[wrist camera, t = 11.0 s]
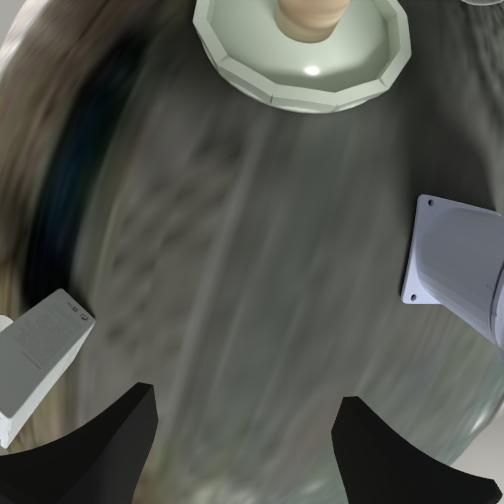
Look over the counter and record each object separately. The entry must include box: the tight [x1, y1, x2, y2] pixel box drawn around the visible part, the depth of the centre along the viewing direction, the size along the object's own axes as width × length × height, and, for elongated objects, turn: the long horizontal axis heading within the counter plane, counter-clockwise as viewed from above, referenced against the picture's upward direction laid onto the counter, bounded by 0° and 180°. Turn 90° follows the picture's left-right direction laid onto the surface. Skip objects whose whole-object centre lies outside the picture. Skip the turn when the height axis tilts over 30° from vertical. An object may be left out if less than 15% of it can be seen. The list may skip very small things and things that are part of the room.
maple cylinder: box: [275, 0, 351, 44], centre depth 12 cm, size 4×4×5 cm
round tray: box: [193, 0, 412, 114], centre depth 14 cm, size 14×14×3 cm
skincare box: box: [0, 289, 96, 448], centre depth 15 cm, size 6×4×12 cm
